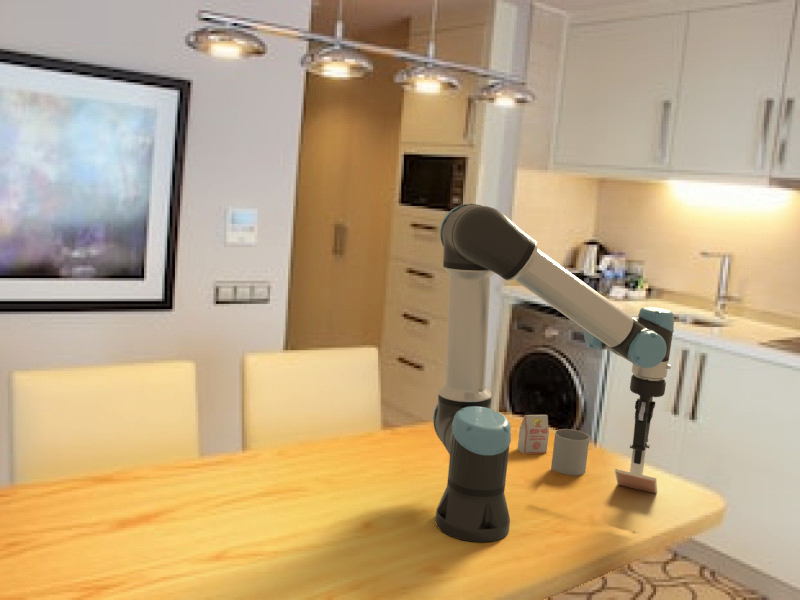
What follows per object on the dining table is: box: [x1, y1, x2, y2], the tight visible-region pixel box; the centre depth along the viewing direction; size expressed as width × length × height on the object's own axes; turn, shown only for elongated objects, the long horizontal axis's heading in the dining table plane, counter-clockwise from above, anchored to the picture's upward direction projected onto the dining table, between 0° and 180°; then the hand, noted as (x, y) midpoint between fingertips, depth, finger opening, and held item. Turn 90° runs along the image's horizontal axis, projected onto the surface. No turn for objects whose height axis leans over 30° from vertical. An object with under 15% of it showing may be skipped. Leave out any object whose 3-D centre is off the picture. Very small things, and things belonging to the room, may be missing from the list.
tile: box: [614, 468, 658, 494], centre depth 174 cm, size 10×9×1 cm
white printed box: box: [517, 414, 550, 455], centre depth 200 cm, size 4×7×10 cm, turn 107°
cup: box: [550, 428, 590, 476], centre depth 187 cm, size 8×8×10 cm
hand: (636, 475), depth 173 cm, fingers closed
